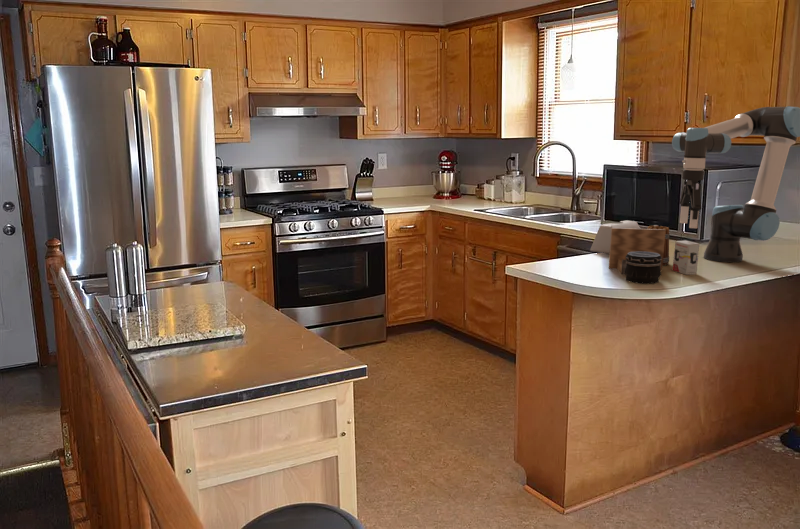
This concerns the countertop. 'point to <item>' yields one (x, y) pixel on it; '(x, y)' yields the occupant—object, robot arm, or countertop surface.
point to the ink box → (686, 257)
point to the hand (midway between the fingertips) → (688, 225)
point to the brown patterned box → (634, 244)
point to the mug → (666, 245)
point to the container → (643, 267)
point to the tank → (609, 235)
